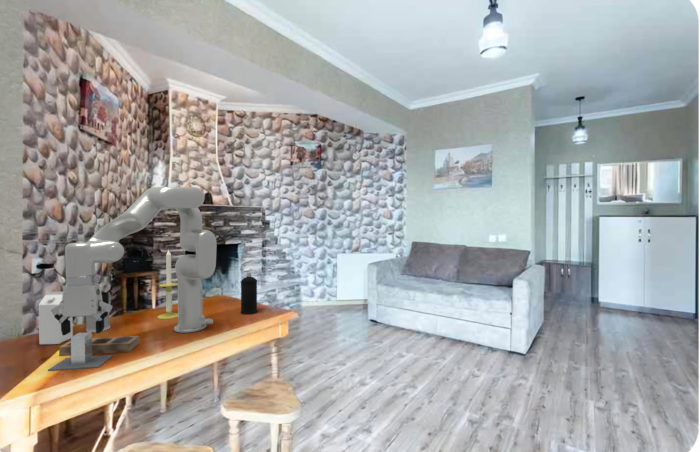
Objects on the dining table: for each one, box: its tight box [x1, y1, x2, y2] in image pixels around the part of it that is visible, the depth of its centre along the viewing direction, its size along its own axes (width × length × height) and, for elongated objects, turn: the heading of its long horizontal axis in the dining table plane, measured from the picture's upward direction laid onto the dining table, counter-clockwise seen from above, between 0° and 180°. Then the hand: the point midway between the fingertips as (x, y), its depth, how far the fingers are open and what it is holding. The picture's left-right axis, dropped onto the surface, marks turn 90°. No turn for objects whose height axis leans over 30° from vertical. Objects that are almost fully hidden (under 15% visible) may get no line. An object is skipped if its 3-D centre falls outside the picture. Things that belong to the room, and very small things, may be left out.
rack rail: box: [58, 335, 140, 357], centre depth 125 cm, size 22×8×3 cm, turn 100°
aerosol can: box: [239, 271, 258, 315], centre depth 174 cm, size 8×8×20 cm
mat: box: [47, 354, 113, 372], centre depth 113 cm, size 14×9×1 cm, turn 100°
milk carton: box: [38, 291, 74, 345], centre depth 133 cm, size 7×7×19 cm
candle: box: [157, 248, 178, 320], centre depth 167 cm, size 10×10×32 cm
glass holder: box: [85, 291, 112, 333], centre depth 150 cm, size 9×14×15 cm, turn 9°
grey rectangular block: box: [70, 332, 93, 365], centre depth 113 cm, size 4×4×9 cm
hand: (83, 332), depth 113 cm, fingers open, 9 cm apart
